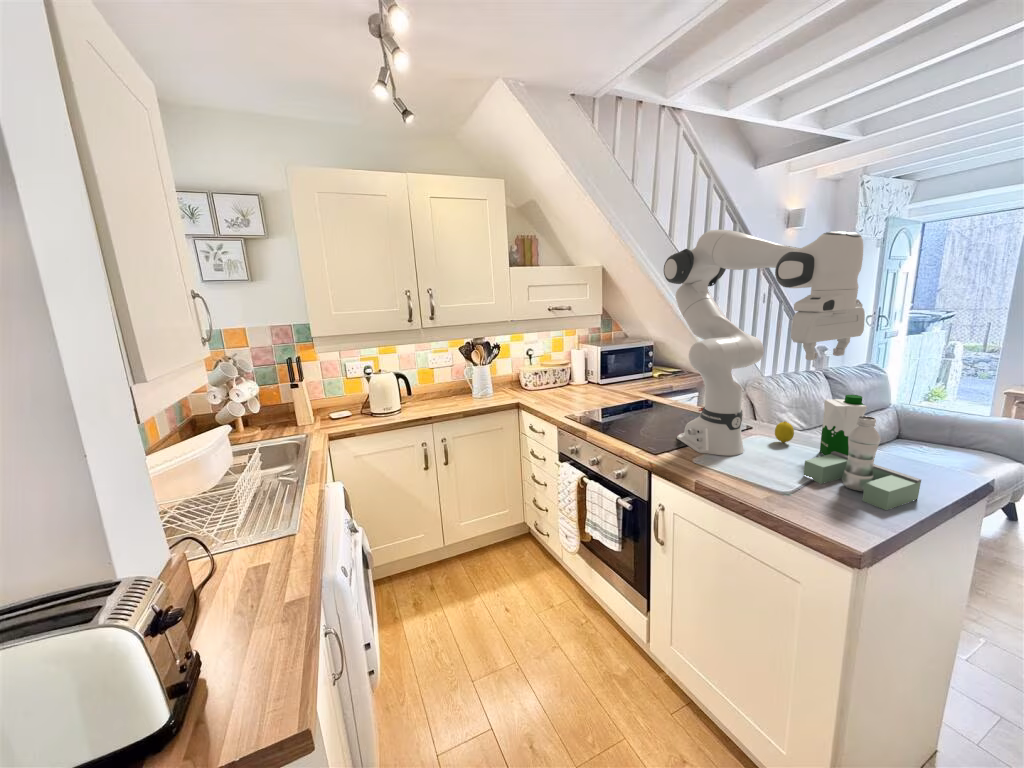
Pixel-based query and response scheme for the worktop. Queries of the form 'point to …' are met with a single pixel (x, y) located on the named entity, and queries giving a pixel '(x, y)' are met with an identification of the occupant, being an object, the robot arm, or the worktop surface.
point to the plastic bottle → (861, 453)
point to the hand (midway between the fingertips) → (824, 357)
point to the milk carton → (840, 423)
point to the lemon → (784, 432)
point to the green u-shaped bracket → (880, 492)
